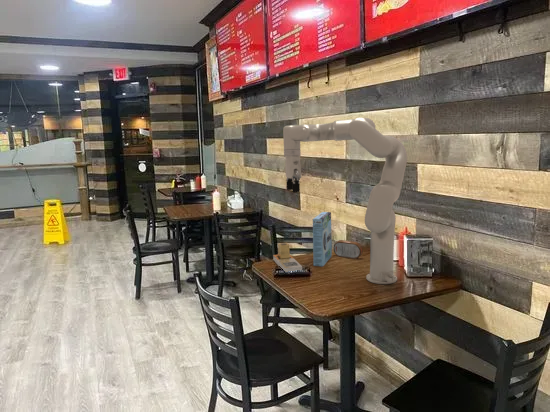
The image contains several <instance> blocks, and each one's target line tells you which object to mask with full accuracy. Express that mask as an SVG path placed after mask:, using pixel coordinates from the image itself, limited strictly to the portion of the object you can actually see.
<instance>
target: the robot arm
mask: <svg viewBox="0 0 550 412" xmlns="http://www.w3.org/2000/svg"><path fill="white" fill-rule="evenodd" d="M282 130H283V131H282V132H283V157H284V158H285V168H284V169H285V177H286V180H285V181H286V185H285V186H286V191H292V193H300V192H301V190H300V189H301V185H300V183H301V182H300V179H301V178H302V166H301V164H302V163H301V154H302V153H301V142H302V143H305V142H307V143H308V142H309V143H310V142H322V141H336V142H338V141H339V142H340V141H341V142H342V141H356V142H357V143H358V144H359V145H360V146H361V147H362V148H364V150H365V151H367V152H368V153H369V154H370V155H372V156H373V157H375V158H378V159H385V161H384V164H383V168H382V171H381V177H380V180H379V182H378V183H377V184H376V185H374V186H373V188H372V189H371V191H370V194H369V198H368V202H367V205H366V211H365V215H364V225H365V227H366V228H367V230H368V231H369V232H370V242H369V243H370V245H369V246H370V247H369V248H370V249H369V250H370V251H369V253H370V254H369V256H370V257H369V263H370V265H369V273H368V274H366V276H365V277H366V278H365V279H366V280H367V281H368V282H369V283H372V284H378V285H391V284H394V283H396V282H397V281H398V277H397V276H396V275H395V274H394V259H395V258H394V257H395V255H394V251H395V249H394V247H395V231H396V222H397V219H396V218H397V217H396V213H395V211H394V209H393V206H394V203H395V202H396V201H397V200H398V199H399V198H400V195H401V189H402V185H403V181H404V177H405V171H406V166H407V162H408V154H407V153H408V152H407V150H406V147H405V145H404V143H402V141H400V140H399V139H398V138H396V137H394V136H392V135H383V134H382V133H381V132H380V131H379V130H377V129H376V124H375V122H374V120H372V119H371V118H369V117H362V116H361V117H356V118H350V119H348V118H347V119H338V120H334V121H333V122H329V123H327V122H326V123H317V124H309V123H308V124H305V123H303V124H299V125H298V124H297V125H294V124H293V125H285V126H284V127H283V129H282Z"/></svg>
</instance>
